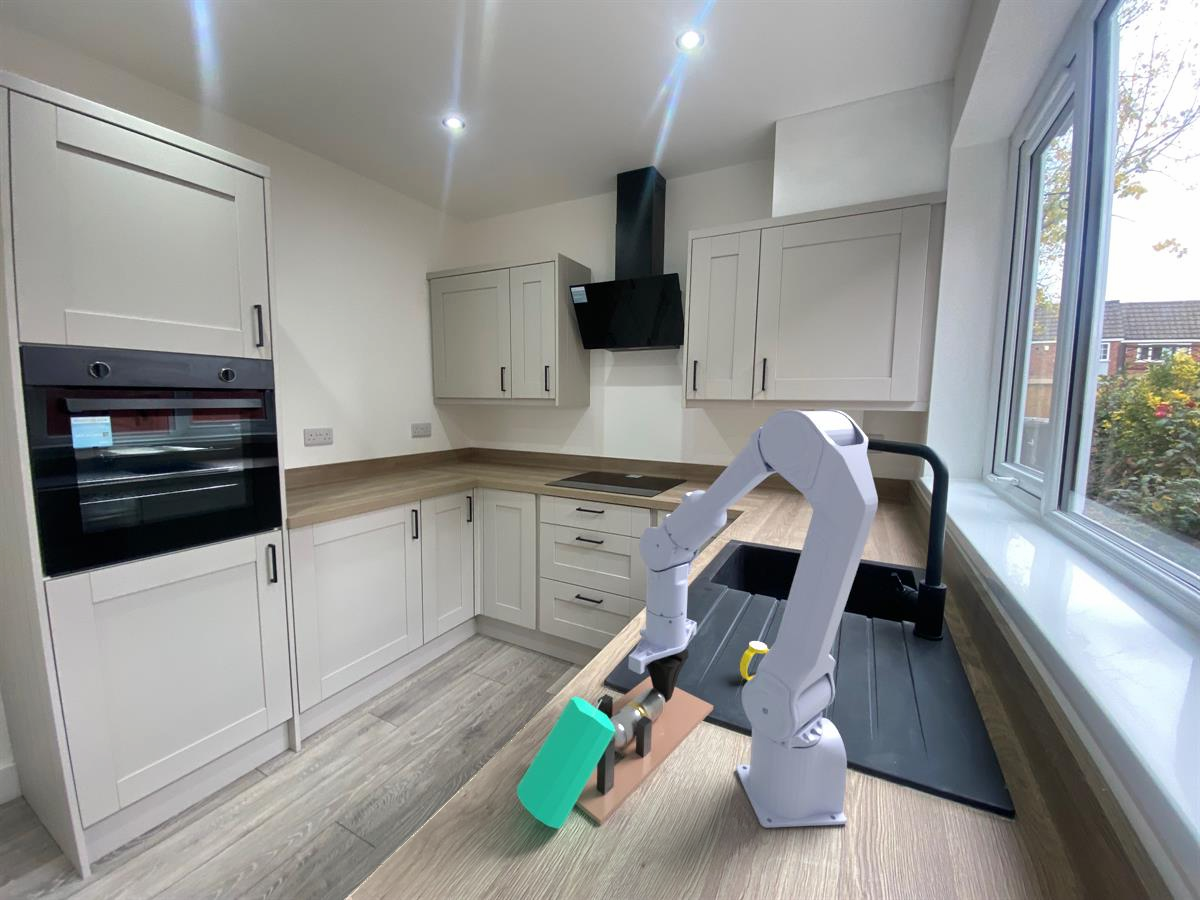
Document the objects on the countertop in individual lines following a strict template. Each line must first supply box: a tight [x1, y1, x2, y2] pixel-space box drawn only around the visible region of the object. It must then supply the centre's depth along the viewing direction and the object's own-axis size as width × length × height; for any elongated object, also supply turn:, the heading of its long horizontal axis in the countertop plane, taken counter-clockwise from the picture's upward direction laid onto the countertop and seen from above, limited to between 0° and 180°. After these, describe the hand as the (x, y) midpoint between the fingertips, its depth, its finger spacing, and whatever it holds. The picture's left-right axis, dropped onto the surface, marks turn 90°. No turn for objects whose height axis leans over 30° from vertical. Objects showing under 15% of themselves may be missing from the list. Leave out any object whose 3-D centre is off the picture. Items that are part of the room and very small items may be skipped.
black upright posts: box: [557, 693, 652, 796], centre depth 57 cm, size 9×8×6 cm
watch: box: [739, 640, 770, 681], centre depth 75 cm, size 6×3×6 cm, turn 117°
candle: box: [516, 696, 615, 830], centre depth 51 cm, size 6×6×12 cm
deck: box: [574, 675, 714, 826], centre depth 62 cm, size 25×11×1 cm, turn 139°
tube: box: [610, 688, 666, 752], centre depth 62 cm, size 12×4×4 cm, turn 140°
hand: (662, 697), depth 67 cm, fingers closed
